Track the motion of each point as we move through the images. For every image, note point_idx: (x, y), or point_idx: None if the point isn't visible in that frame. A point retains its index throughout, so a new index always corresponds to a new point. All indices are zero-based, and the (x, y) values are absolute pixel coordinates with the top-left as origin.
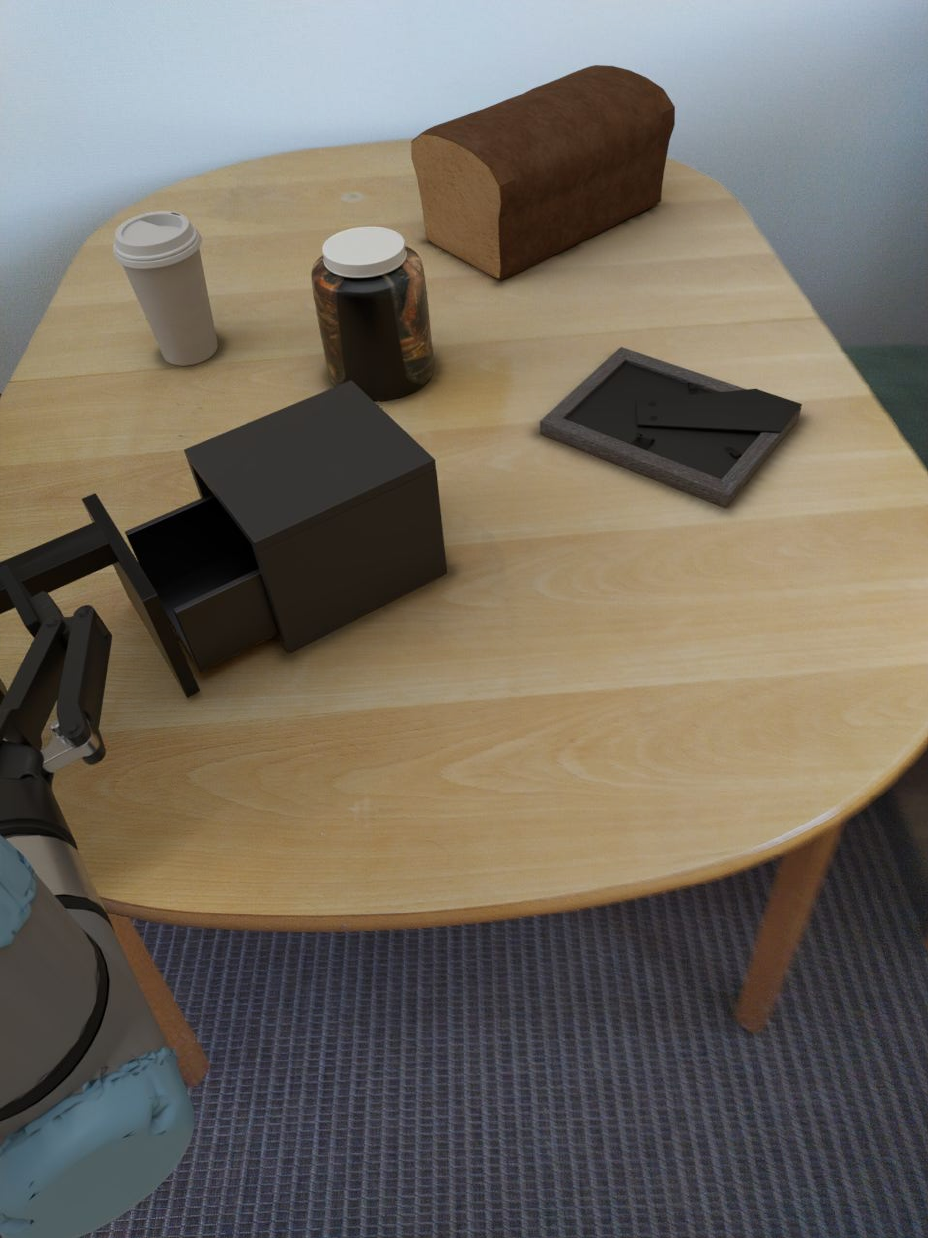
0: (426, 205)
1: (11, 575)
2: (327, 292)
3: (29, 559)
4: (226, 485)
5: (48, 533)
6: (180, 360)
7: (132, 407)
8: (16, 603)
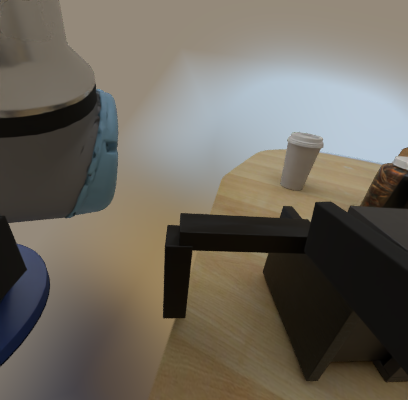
0: None
1: (347, 215)
2: (396, 175)
3: (260, 222)
4: (399, 237)
5: None
6: (288, 186)
7: (267, 193)
8: (400, 261)
